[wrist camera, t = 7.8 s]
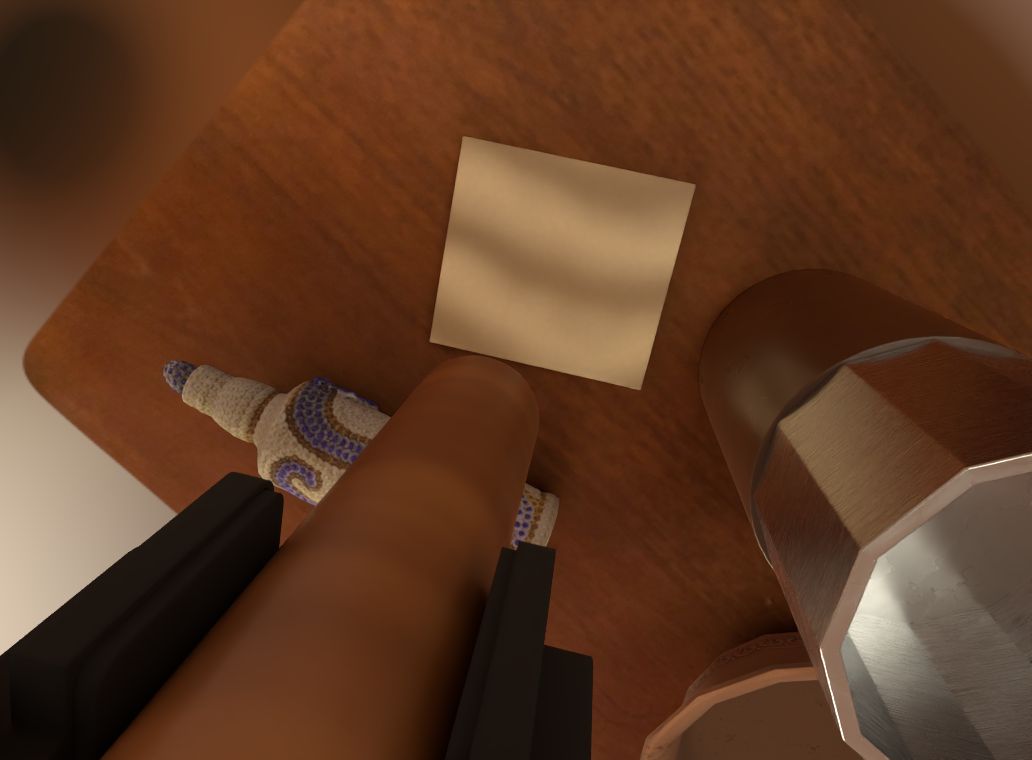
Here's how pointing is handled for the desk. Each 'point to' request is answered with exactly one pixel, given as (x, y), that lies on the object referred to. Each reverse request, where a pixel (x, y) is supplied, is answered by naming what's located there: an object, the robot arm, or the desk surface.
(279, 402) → the decorative bottle
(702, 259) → the desk surface
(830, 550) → the tin
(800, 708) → the bowl
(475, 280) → the board
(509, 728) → the robot arm
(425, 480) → the stick
